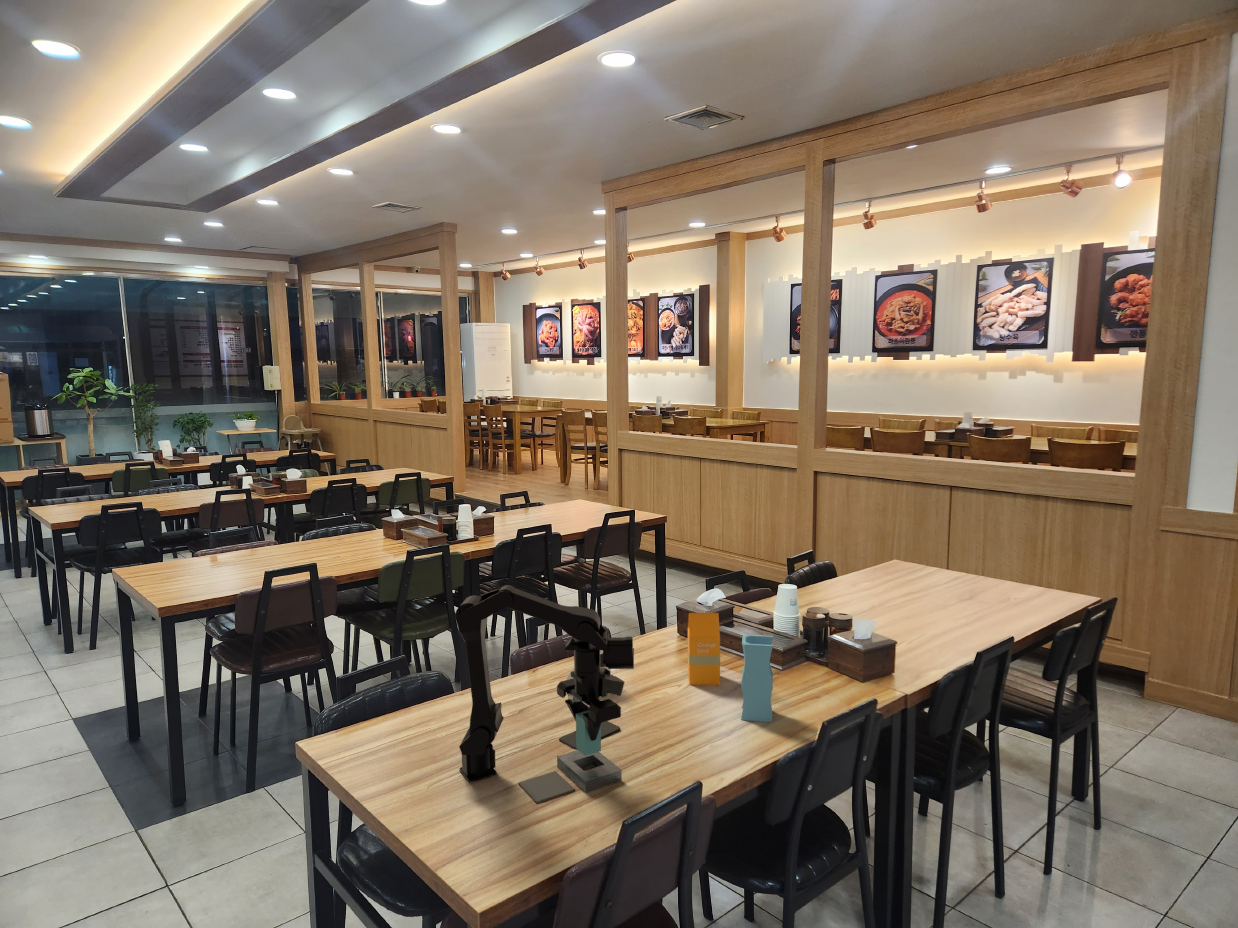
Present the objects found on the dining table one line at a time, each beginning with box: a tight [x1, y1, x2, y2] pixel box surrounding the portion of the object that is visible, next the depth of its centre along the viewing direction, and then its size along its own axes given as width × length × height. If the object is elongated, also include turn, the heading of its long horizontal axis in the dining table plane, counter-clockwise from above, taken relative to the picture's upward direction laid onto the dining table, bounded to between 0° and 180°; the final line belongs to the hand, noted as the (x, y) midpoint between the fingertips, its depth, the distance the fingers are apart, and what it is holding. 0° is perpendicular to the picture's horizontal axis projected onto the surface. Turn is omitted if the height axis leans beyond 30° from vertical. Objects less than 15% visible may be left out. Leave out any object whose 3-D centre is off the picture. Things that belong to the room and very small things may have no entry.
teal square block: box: [575, 711, 602, 756], centre depth 166 cm, size 4×4×8 cm
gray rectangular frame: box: [556, 749, 623, 794], centre depth 167 cm, size 9×13×2 cm
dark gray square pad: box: [517, 770, 576, 804], centre depth 162 cm, size 9×9×1 cm
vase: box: [740, 634, 774, 723], centre depth 195 cm, size 8×8×20 cm
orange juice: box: [687, 612, 721, 686], centre depth 218 cm, size 8×9×20 cm
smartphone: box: [558, 721, 621, 750], centre depth 186 cm, size 7×1×15 cm
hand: (588, 736), depth 166 cm, fingers closed on teal square block, 4 cm apart
